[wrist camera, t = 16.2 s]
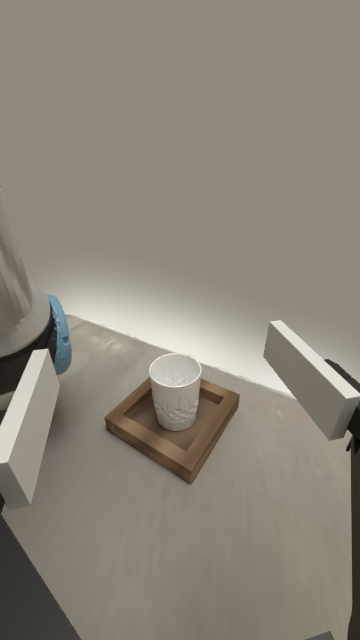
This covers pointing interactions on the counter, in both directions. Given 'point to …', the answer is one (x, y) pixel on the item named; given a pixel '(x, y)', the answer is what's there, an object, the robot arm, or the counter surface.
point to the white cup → (175, 390)
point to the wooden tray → (174, 446)
